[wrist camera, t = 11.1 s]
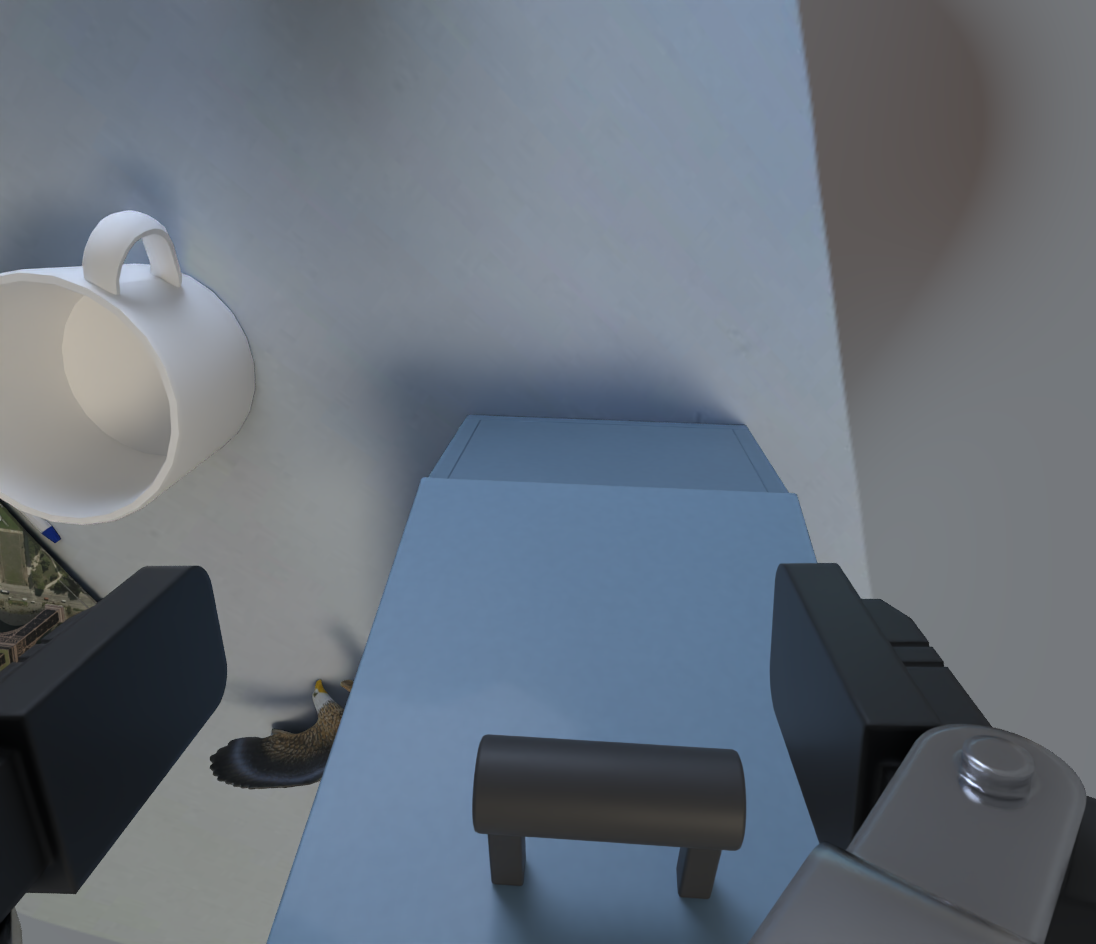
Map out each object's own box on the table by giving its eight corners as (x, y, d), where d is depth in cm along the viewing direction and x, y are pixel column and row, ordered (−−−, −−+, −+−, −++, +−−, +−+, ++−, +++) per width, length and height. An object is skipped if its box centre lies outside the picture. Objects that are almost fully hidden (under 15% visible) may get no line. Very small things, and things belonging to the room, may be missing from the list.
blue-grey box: (717, 699, 43) (747, 835, 34) (470, 685, 44) (435, 815, 35) (746, 425, 38) (792, 497, 29) (467, 414, 39) (424, 481, 30)
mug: (222, 500, 41) (136, 568, 34) (32, 406, 40) (-102, 454, 33) (317, 266, 37) (243, 283, 29) (107, 155, 36) (-26, 143, 28)
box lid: (943, 1034, 16) (1036, 912, 13) (266, 980, 16) (204, 853, 13) (793, 509, 29) (821, 390, 26) (423, 493, 29) (409, 375, 27)
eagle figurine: (328, 620, 42) (197, 718, 42) (359, 733, 37) (209, 841, 38) (411, 671, 47) (293, 756, 48) (447, 774, 42) (316, 868, 43)
